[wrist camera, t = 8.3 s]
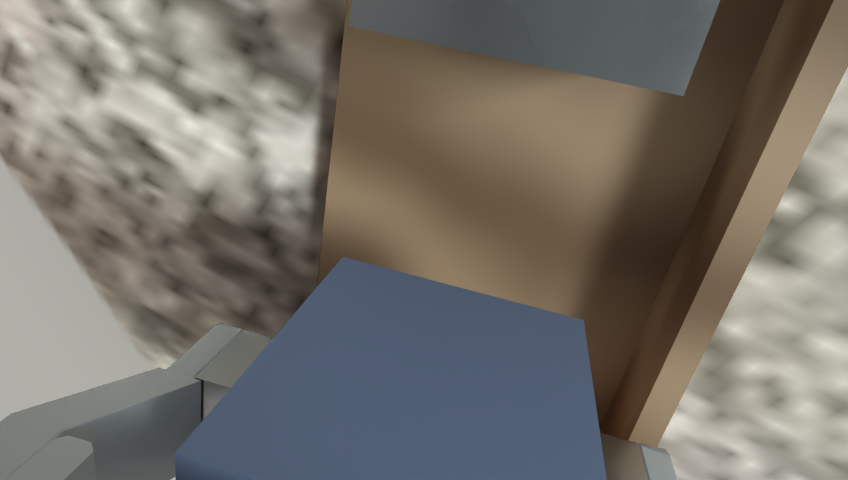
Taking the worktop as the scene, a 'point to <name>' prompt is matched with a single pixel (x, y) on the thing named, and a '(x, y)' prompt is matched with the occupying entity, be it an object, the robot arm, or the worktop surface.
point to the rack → (584, 184)
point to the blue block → (406, 390)
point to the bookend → (560, 33)
